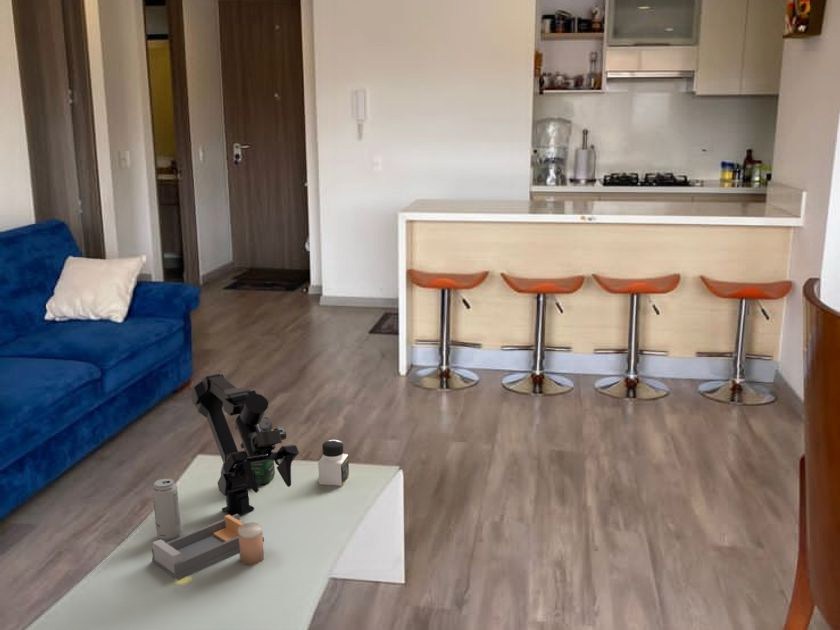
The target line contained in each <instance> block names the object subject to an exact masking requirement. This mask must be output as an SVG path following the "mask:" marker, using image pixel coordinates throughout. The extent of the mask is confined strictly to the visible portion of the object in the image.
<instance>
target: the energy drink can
mask: <svg viewBox="0 0 840 630" xmlns="http://www.w3.org/2000/svg"><path fill="white" fill-rule="evenodd" d="M153 484H154V486H153V487H152V499H153V500H152V502H153V510H154V521H155V522H154V523H155V530H156V531H155V532H156V536H157V537H158V539H159V540H160V539H161V540H162V541H164V542H170V541H172V540H175V539H177V538H179V536H180V534H181V533H182V525H181V524H182V523H181V514H180V513H181V511H180V502H179V491H178V485H177V484H176V482H175V479H174V478H171V477H164V478H159V479H157V480H155V482H154V483H153Z"/></svg>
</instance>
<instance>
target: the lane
mask: <svg viewBox="0 0 840 630" xmlns="http://www.w3.org/2000/svg"><path fill="white" fill-rule="evenodd" d="M232 517H234V518H236V519H238V520H239V521H241V520H240V516H239V514H235V515H233V516H232ZM241 522H243V521H241ZM224 528H226V526H225V518H224V519H220V520H219V521H217V522H213V523H212V524H209V525H207V526H203V527H202V528H201V527H200V528H199V529H197V530H194V531H192V532H189V533H187V534H185V535H182V536H180V537H178V538H176V539H174V540H171V541H162V540H161V539H160V538H159V539H158V540H155V541H153V542H152V546H153V547H152V549H151V550H152V552H151V553H152V557H151V560H152V561H151V562H153V563H154V564H155V565H157V566H159V567H160V568H161V569H162V570H164V571H165V572H167V573H168V574H169V575H171V576H172V577H173V578H175V579H176V580H180V579H183V578H185V577H186V576H187V577H188V576H190V575H191V574H194V573H196V572H199V571H200V570H202V569H205V568H207V567H210V566H212V565H214V564H216V563H218V562H220V561H223V560H225V559H227V558H229V557H231V556H233V555H236V554H238V553H240V549H239V536H237V537H235V538H233V539H230V540H228V541H226V542H224V541H223V540H221V539H219V538H218V537H216V536H215V535H213V533H215V532H217V531H219V530H222V529H224ZM264 541H265V538H264V536H263V542H264Z"/></svg>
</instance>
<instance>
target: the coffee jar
mask: <svg viewBox="0 0 840 630" xmlns="http://www.w3.org/2000/svg"><path fill="white" fill-rule="evenodd" d="M260 424H261V427H262V429H263V431H273V430H274V428H273V421H272V420H271V419H270V418H269V417H267V416H264V418H263V420H262V421H261V422H260ZM244 451H245V452H246V450H245V449H244ZM272 453H274V450H272ZM251 466H252V467H253V469H254V471H255V472H256V477H255V480H256V483H257V486H258V485H259V486H260V485H264V484H269V483H270V482H271V481H272V480H273V478H274V476H275V474H276V469H275V467H276V466H275V461H274V460H273V461H267V462H260V463H253V464H251Z"/></svg>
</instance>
